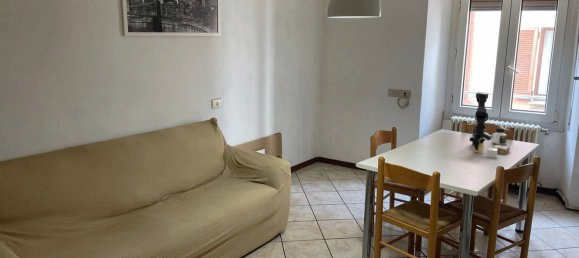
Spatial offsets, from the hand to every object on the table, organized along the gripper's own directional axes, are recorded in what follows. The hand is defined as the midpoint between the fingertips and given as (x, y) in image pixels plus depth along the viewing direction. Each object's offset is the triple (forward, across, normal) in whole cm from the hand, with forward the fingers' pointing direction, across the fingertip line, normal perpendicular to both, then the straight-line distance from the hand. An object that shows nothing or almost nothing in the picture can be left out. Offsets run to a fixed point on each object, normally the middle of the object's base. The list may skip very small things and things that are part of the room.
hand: (478, 149), depth 326 cm
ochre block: (+1, 0, 0) cm, 1 cm away
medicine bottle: (+2, +37, -1) cm, 37 cm away
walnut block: (+2, +10, -12) cm, 16 cm away
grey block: (+2, -6, -12) cm, 14 cm away
